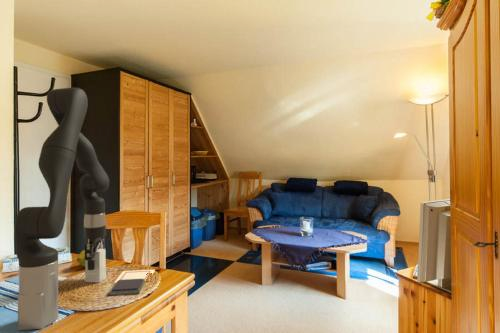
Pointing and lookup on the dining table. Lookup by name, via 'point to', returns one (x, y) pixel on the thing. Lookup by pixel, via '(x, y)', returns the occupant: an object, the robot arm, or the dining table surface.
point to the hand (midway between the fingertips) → (95, 265)
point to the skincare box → (97, 268)
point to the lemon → (81, 258)
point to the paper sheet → (134, 274)
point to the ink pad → (127, 286)
